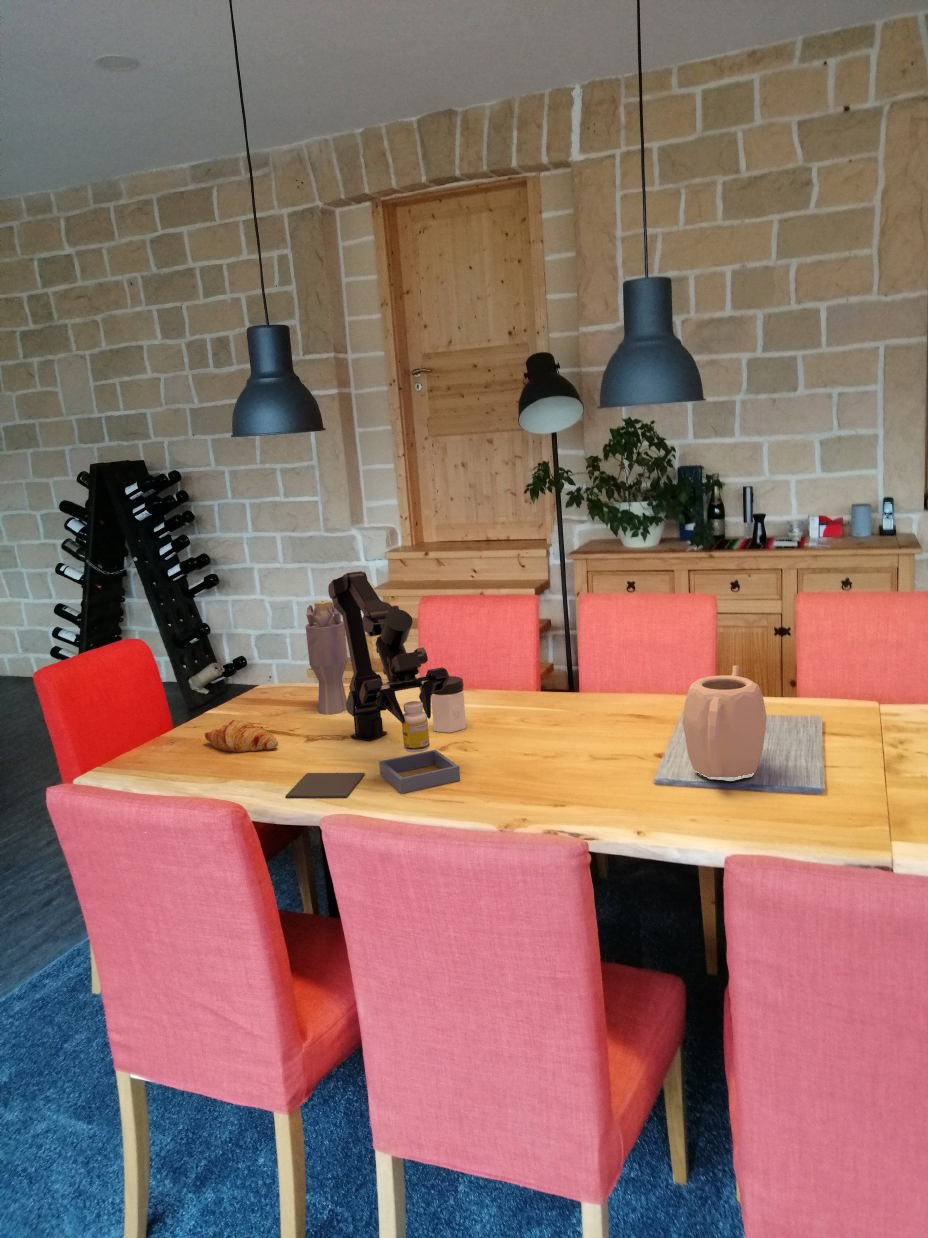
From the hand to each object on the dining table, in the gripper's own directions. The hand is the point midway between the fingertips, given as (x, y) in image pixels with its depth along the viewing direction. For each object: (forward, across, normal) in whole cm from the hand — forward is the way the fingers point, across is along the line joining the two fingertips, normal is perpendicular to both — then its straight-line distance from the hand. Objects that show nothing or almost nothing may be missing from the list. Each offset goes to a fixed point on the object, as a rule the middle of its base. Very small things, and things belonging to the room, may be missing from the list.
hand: (416, 720), depth 192 cm
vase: (-36, -1, +55) cm, 66 cm away
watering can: (+31, +54, -13) cm, 64 cm away
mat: (+4, -18, +15) cm, 24 cm away
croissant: (-23, -29, +42) cm, 56 cm away
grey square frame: (+8, 0, +10) cm, 13 cm away
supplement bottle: (+4, 0, +6) cm, 7 cm away
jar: (-11, +19, +30) cm, 38 cm away
